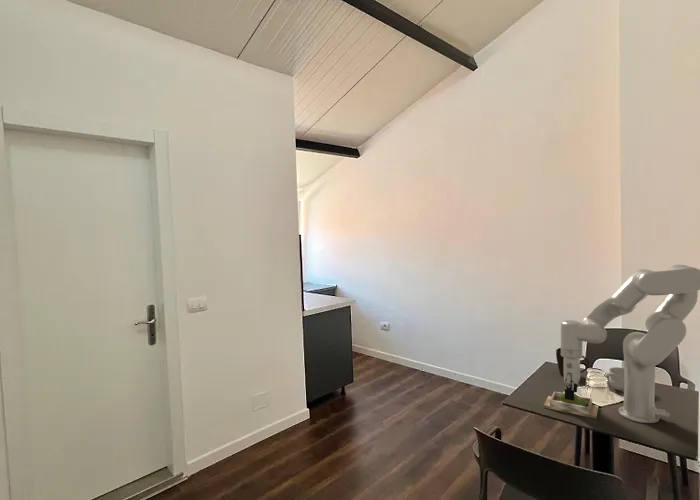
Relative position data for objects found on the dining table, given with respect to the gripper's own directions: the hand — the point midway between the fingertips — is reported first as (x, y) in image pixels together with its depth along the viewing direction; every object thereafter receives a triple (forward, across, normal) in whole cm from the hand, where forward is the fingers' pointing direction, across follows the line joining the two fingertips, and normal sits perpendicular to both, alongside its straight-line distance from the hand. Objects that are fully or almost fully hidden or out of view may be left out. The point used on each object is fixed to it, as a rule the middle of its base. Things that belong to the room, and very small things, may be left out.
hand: (571, 395), depth 164 cm
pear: (+4, 0, -1) cm, 4 cm away
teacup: (+5, +32, -15) cm, 35 cm away
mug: (+5, +38, +4) cm, 38 cm away
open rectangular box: (+5, 0, 0) cm, 5 cm away
